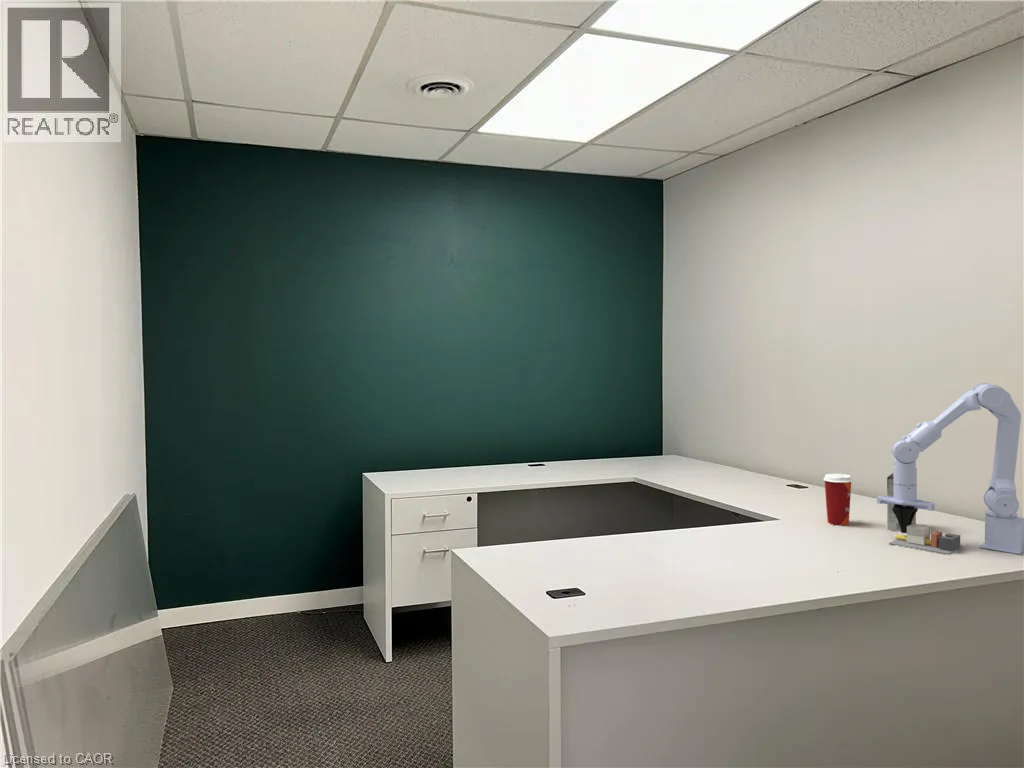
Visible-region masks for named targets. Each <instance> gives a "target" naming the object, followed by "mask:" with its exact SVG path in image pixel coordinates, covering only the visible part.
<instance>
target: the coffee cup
mask: <svg viewBox="0 0 1024 768" xmlns="http://www.w3.org/2000/svg"><path fill="white" fill-rule="evenodd" d="M823 481H824V489H825V490H824V492H825V505H826V517H827V518H826V519H827V524H828V523H830V524H833V525H832V526H835V525H846V526H848V525H850V524H849V523H850V512H851V511H850V510H851V495H852V491H851V490H852V482H853V479H852V476H851V475H849V474H845V473H827V474H825V475H824V477H823ZM830 524H829V525H830ZM847 524H848V525H847Z"/></svg>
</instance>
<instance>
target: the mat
mask: <svg viewBox="0 0 1024 768" xmlns="http://www.w3.org/2000/svg"><path fill="white" fill-rule="evenodd" d="M890 544H894V545H893V546H896V545H899V546H898V547H901V546H905V547H904V548H907V547H910V548H909V549H912V548H915V549H914V550H918V549H920V550H919V551H923V550H926V551H925V552H929V551H930V552H929V553H935V552H936V554H940V553H941V554H942V555H946V554H947V555H946V556H949V555H951V554H954V551H955V552H956V550H957V551H959V550H961V549H963V548H965V545H963V544H960V548H961V549H960V548H958V549H959V550H958V549H956V550H954V551H952V552H951V551H946V550H940V549H939V547H937V548H934V547H931V545H928V544H925V545H920V544H915V543H909V542H907V541H905V540H899V539H894V540H893V541H889V542H888V545H890ZM962 547H963V548H962ZM941 554H940V555H941ZM948 554H949V555H948Z"/></svg>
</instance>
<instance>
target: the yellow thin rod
mask: <svg viewBox="0 0 1024 768" xmlns="http://www.w3.org/2000/svg"><path fill="white" fill-rule="evenodd" d="M894 538H895V540H897V539H899V540H905V541H907V535H906V534H905V535H903V534H899V533H896V534H895V535H894ZM925 544H928V545H931V539H930V540H929V539H925ZM938 545H939V543H938Z"/></svg>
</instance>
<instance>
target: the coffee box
mask: <svg viewBox="0 0 1024 768" xmlns="http://www.w3.org/2000/svg"><path fill="white" fill-rule="evenodd" d="M886 478H887V479H886V480H887V481H886V483H887V484H886V490H887V491H886V493H887V495H886V496H888V497H894V475H893V472H892V473H891V474H890V475H888V476H887V477H886ZM886 505H887V506H886V509H887V515H886V516H887V518H886V520H887V521H886V522H887V531H892V530H894V531H893V532H901V529H900V525H899V522H898V520H897V517H896V515H895V514H894V512H893V510H892V508H893V507H894V505H889V504H886ZM911 524H917V513H916V514H915V516H914V518H913V520H912V522H911Z"/></svg>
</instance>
